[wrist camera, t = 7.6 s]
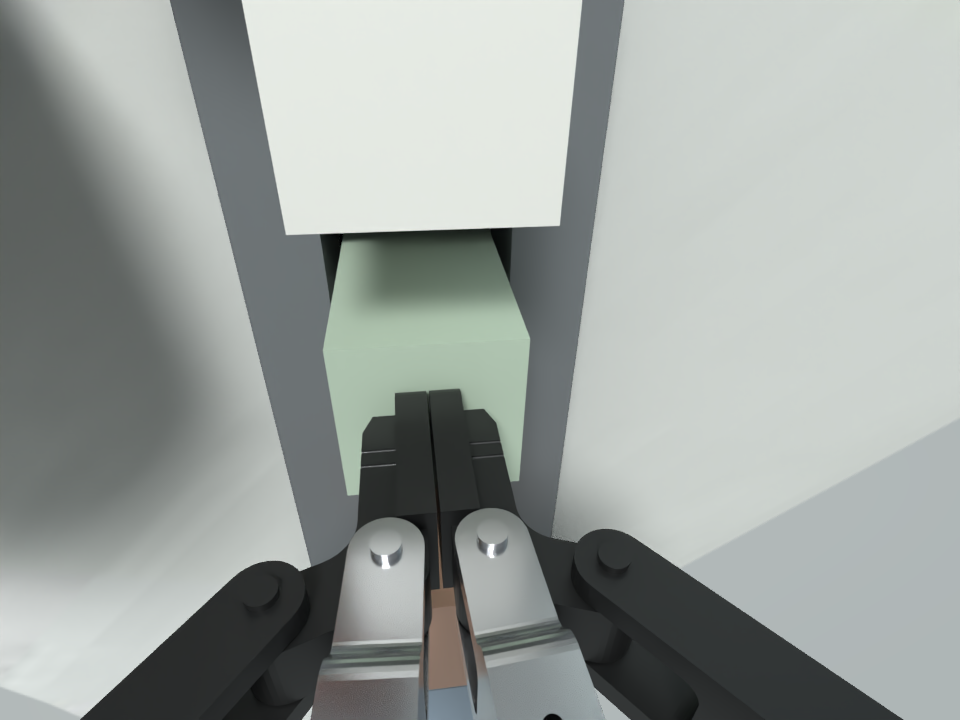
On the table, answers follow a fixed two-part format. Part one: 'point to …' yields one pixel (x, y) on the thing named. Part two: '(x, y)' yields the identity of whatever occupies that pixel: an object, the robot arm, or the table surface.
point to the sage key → (424, 333)
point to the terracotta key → (444, 640)
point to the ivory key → (416, 111)
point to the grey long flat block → (314, 261)
